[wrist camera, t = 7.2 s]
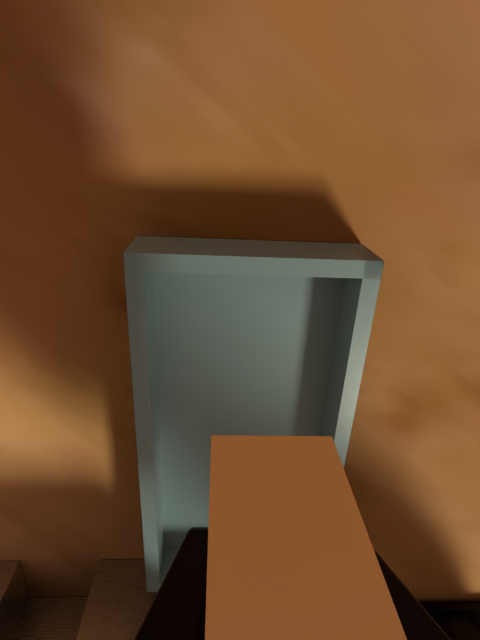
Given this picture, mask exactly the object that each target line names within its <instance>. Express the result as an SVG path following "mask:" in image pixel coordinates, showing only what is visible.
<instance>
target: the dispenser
mask: <svg viewBox="0 0 480 640" xmlns="http://www.w3.org/2000/svg"><path fill="white" fill-rule="evenodd" d="M156 594H157V592H147V585H146V571H145V559H123V560H98V564H97V567H96V571H95V574H94V578H93V581H92V585H91V588H90V592H89V596H88V597H40V598H29V595H28V591H27V587H26V583H25V579H24V575H23V571H22V567H21V563H20V561H0V640H134V638H135V636H136V634H137V632H138V630H139V628H140V626H141V624H142V622H143V620H144V618H145V616H146V614H147V612H148V610H149V608H150V606H151V604H152V602H153V600H154V598H155V596H156Z"/></svg>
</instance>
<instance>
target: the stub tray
mask: <svg viewBox="0 0 480 640" xmlns="http://www.w3.org/2000/svg"><path fill="white" fill-rule="evenodd" d="M123 260H124V274H125V289H126V303H127V317H128V331H129V345H130V359H131V373H132V387H133V401H134V416H135V430H136V444H137V458H138V472H139V486H140V500H141V514H142V529H143V543H144V557H145V571H146V585H147V592H158V590H159V588H160V586H161V584H162V582H163V580H164V578H165V576H166V574H167V572H168V570H169V568H170V566H171V564H172V562H173V560H174V558H175V556H176V554H177V552H178V550H179V548H180V546H181V544H182V542H183V540H184V538H185V536H186V534H187V532H188V530H189V529H190V528H192V527H208V524H209V492H210V461H211V435H237V436H332V438H333V441H334V444H335V446H336V449H337V452H338V455H339V457H340V460H341V463H342V465H343V468H344V465H345V460H346V455H347V450H348V445H349V440H350V434H351V429H352V424H353V419H354V414H355V409H356V404H357V398H358V393H359V388H360V383H361V378H362V373H363V368H364V362H365V357H366V352H367V347H368V342H369V337H370V332H371V326H372V321H373V316H374V311H375V306H376V301H377V295H378V290H379V285H380V280H381V275H382V270H383V265H384V261H383V260H382V259H381V258H379V257H378V256H377V255H375V254H374V253H373V252H372V251H370V250H369V249H368V248H366V247H365V246H364V245H363V244H354V243H326V242H297V241H269V240H241V239H213V238H185V237H157V236H136V237H135V238H134V240H133V241H132V242H131V243H130V245H129V246H128V247H127V248H126V249H125V251H124V252H123Z"/></svg>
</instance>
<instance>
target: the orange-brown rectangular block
mask: <svg viewBox="0 0 480 640" xmlns="http://www.w3.org/2000/svg"><path fill="white" fill-rule="evenodd" d="M205 640H407V638H406V636H405V633H404V630H403V627H402V625H401V622H400V619H399V617H398V614H397V611H396V609H395V606H394V603H393V600H392V598H391V595H390V592H389V590H388V587H387V584H386V582H385V579H384V576H383V573H382V571H381V568H380V565H379V563H378V560H377V557H376V554H375V552H374V549H373V546H372V544H371V541H370V538H369V536H368V533H367V530H366V527H365V525H364V522H363V519H362V517H361V514H360V511H359V509H358V506H357V503H356V500H355V498H354V495H353V492H352V490H351V487H350V484H349V482H348V479H347V476H346V473H345V471H344V468H343V465H342V463H341V460H340V457H339V455H338V452H337V449H336V446H335V444H334V441H333V438H332V436H237V435H211V461H210V492H209V524H208V556H207V587H206V619H205Z"/></svg>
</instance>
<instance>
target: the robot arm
mask: <svg viewBox="0 0 480 640" xmlns="http://www.w3.org/2000/svg"><path fill="white" fill-rule="evenodd" d="M373 549H374V548H373ZM374 552H375V554H376V557H377V560H378V563H379V565H380V568H381V571H382V573H383V576H384V579H385V582H386V584H387V587H388V590H389V592H390V595H391V598H392V600H393V603H394V606H395V609H396V611H397V614H398V617H399V619H400V622H401V625H402V627H403V630H404V633H405V636H406V638H407V640H480V602H464V603H419V602H418V600H417V599H416V598H415V597H414V596H413V595H412V593H411V592H410V591H409V590H408V589H407V587H406V586H405V585H404V584H403V583H402V582H401V580H400V579H399V578H398V577H397V576H396V574H395V573H394V572H393V571H392V570H391V569H390V567H389V566H388V565H387V564H386V563H385V561H384V560H383V559H382V558H381V557H380V556H379V554H378V553H377V552H376V551H375V550H374ZM207 556H208V527H192V528H190V529H189V530H188V532H187V534H186V536H185V538H184V540H183V542H182V544H181V546H180V548H179V550H178V552H177V554H176V556H175V558H174V560H173V562H172V564H171V566H170V568H169V570H168V572H167V574H166V576H165V578H164V580H163V582H162V584H161V586H160V588H159V590H158V592H157V594H156V596H155V598H154V600H153V602H152V604H151V606H150V608H149V610H148V612H147V614H146V616H145V618H144V620H143V622H142V624H141V626H140V628H139V630H138V632H137V634H136V636H135V638H134V640H205V619H206V587H207Z"/></svg>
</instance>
